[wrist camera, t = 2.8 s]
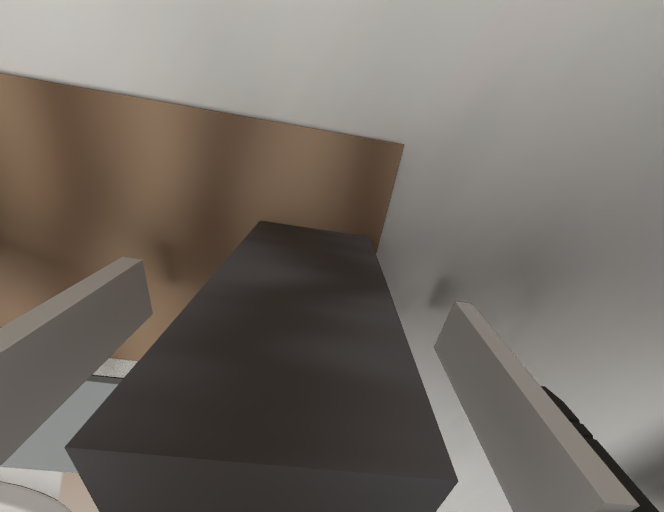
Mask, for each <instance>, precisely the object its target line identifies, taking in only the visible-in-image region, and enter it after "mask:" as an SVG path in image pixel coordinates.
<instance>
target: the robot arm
mask: <svg viewBox="0 0 664 512" xmlns="http://www.w3.org/2000/svg"><path fill="white" fill-rule="evenodd" d="M152 314H153V311H152V306H151V301H150V295H149V290H148V285H147V280H146V275H145V270H144V265H143V259H135V258H128V257H121V258H120V259H118V260H116V261H114V262H113V263H111V264H109V265H108V266H106V267H104V268H102V269H101V270H99V271H97V272H96V273H94V274H92V275H90V276H89V277H87V278H85V279H83V280H82V281H80V282H78V283H77V284H75V285H73V286H71V287H70V288H68V289H66V290H65V291H63V292H61V293H59V294H58V295H56V296H54V297H53V298H51V299H49V300H47V301H46V302H44V303H42V304H40V305H39V306H37V307H35V308H34V309H32V310H30V311H28V312H27V313H25V314H23V315H22V316H20V317H18V318H16V319H15V320H13V321H11V322H10V323H8V324H6V325H4V326H3V327H0V466H1V465H2V464H3V463H4V462H5V461H6V460H7V459H8V458H9V457H10V456H11V455H12V454H13V453H14V452H15V451H16V450H17V449H18V448H19V447H20V446H21V445H22V444H23V443H24V442H25V441H26V440H27V439H28V438H29V437H30V436H31V435H32V434H33V433H34V432H35V431H36V430H37V429H38V428H39V427H40V426H41V425H42V424H43V423H44V422H45V421H46V420H47V419H48V418H49V417H50V416H51V415H52V414H53V413H54V412H55V411H56V410H57V409H58V408H59V407H60V406H61V405H62V404H63V403H64V402H65V401H66V400H67V399H68V398H69V397H70V396H71V395H72V394H73V393H74V392H75V391H76V390H77V389H78V388H79V387H80V386H81V385H82V384H83V383H84V382H85V381H86V380H87V379H88V378H89V377H90V376H91V375H92V374H93V373H94V372H95V371H96V370H97V369H98V368H99V367H100V366H101V365H102V364H103V363H104V362H105V361H106V360H107V359H108V358H109V357H110V356H111V355H112V354H113V353H114V352H115V351H116V350H117V349H118V348H119V347H120V346H121V345H122V344H123V343H124V342H125V341H126V340H127V339H128V338H129V337H130V336H131V335H132V334H133V333H134V332H135V331H136V330H137V329H138V328H139V327H140V326H141V325H142V324H143V323H144V322H145V321H146V320H147V319H148V318H149V317H150V316H151V315H152ZM434 348H435V350H436V353H437V355H438V357H439V359H440V361H441V363H442V365H443V367H444V369H445V371H446V373H447V375H448V377H449V380H450V382H451V384H452V386H453V388H454V390H455V392H456V394H457V396H458V398H459V400H460V402H461V404H462V406H463V409H464V411H465V413H466V415H467V417H468V419H469V421H470V423H471V425H472V427H473V429H474V431H475V433H476V435H477V438H478V440H479V442H480V444H481V446H482V448H483V450H484V452H485V454H486V456H487V458H488V460H489V462H490V464H491V467H492V469H493V471H494V473H495V475H496V477H497V479H498V481H499V483H500V485H501V487H502V489H503V491H504V493H505V496H506V498H507V500H508V502H509V504H510V506H511V508H512V510H513V512H659V511H658V510H657V509H656V508H655V506H654V505H653V504H652V503H651V502H650V501H649V500H648V499H647V497H646V496H645V495H644V494H643V493H642V492H641V491H640V489H639V488H638V487H637V486H636V485H635V484H634V483H633V481H632V480H631V479H630V478H629V477H628V476H627V474H626V473H625V472H624V471H623V470H622V469H621V468H620V466H619V465H618V464H617V463H616V462H615V461H614V460H613V458H612V457H611V456H610V455H609V454H608V453H607V451H606V450H605V449H604V448H603V447H602V446H601V445H600V443H599V442H598V441H597V440H594V439H593V435H592V434H591V433H590V432H589V431H588V430H587V428H586V427H585V426H584V425H583V424H580V422H579V419H578V418H577V417H576V416H575V415H574V413H573V412H572V411H571V410H570V409H569V408H568V407H567V405H566V404H565V403H564V402H563V401H562V400H560V399H559V398H558V397H557V396H556V395H554V394H553V393H552V392H551V391H550V390H548V389H547V388H546V387H543V386H540V385H539V384H538V383H537V381H536V380H535V379H534V378H533V377H532V375H531V374H530V373H529V372H528V371H527V369H526V368H525V367H524V366H523V365H522V363H521V362H520V361H519V360H518V359H517V357H516V356H515V355H514V354H513V353H512V351H511V350H510V349H509V348H508V347H507V345H506V344H505V343H504V342H503V341H502V339H501V338H500V337H499V336H498V335H497V333H496V332H495V331H494V330H493V329H492V327H491V326H490V325H489V324H488V323H487V321H486V320H485V319H484V318H483V317H482V315H481V314H480V313H479V312H478V311H477V309H476V308H475V307H474V306H473V305H472V303H465V302H457V301H455V302H454V304H453V307H452V309H451V311H450V313H449V315H448V317H447V320H446V322H445V324H444V326H443V328H442V331H441V333H440V335H439V337H438V339H437V342H436V344H435V346H434Z"/></svg>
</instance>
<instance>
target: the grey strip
mask: <svg viewBox="0 0 664 512" xmlns="http://www.w3.org/2000/svg"><path fill="white" fill-rule="evenodd" d="M122 380H123V379H119V378H110V377H100V376H90V377H89V378H88V379H87V380H86V381H85V382H84V383H83V384H82V385H81V386H80V387H79V388H78V389H77V390H76V391H75V392H74V393H73V394H72V395H71V396H70V397H69V398H68V399H67V400H66V401H65V402H64V403H63V404H62V405H61V406H60V407H59V408H58V409H57V410H56V411H55V412H54V413H53V414H52V415H51V416H50V417H49V418H48V419H47V420H46V421H45V422H44V423H43V424H42V425H41V426H40V427H39V428H38V429H37V430H36V431H35V432H34V433H33V434H32V435H31V436H30V437H29V438H28V439H27V440H26V441H25V442H24V443H23V444H22V445H21V446H20V447H19V448H18V449H17V450H16V451H15V452H14V453H13V454H12V455H11V456H10V457H9V458H8V459H7V460H6V461H5V462H4V463H3V464H2V465H1V466H0V467H9V468H22V469H34V470H46V471H59V472H71V473H78V472H77V470H76V468H75V466H74V464H73V462H72V461H71V459H70V457H69V455H68V453H67V451H66V450H65V448H64V447H65V446H66V445H67V443H68V442H69V441H70V440H71V439H72V438H73V437H74V435H75V434H76V433H77V432H78V431H79V430H80V428H81V427H82V426H83V425H84V424H85V423H86V421H87V420H88V419H89V418H90V417H91V416H92V414H93V413H94V412H95V411H96V410H97V409H98V408H99V406H100V405H101V404H102V403H103V402H104V401H105V399H106V398H107V397H108V396H109V395H110V394H111V392H112V391H113V390H114V389H115V388H116V387H117V386H118V384H119V383H120V382H121V381H122Z"/></svg>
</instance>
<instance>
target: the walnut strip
mask: <svg viewBox="0 0 664 512" xmlns="http://www.w3.org/2000/svg"><path fill="white" fill-rule="evenodd" d="M403 148H404V144H398V143H393V142H387V141H381V140H376V139H370V138H364V137H359V136H353V135H347V134H341V133H336V132H330V131H324V130H319V129H313V128H307V127H302V126H296V125H290V124H285V123H279V122H273V121H268V120H262V119H256V118H251V117H245V116H239V115H234V114H228V113H222V112H217V111H211V110H205V109H200V108H194V107H188V106H183V105H177V104H171V103H166V102H160V101H154V100H149V99H143V98H137V97H132V96H126V95H120V94H115V93H109V92H103V91H98V90H92V89H86V88H81V87H75V86H69V85H64V84H58V83H52V82H47V81H41V80H35V79H30V78H24V77H18V76H13V75H7V74H1V73H0V327H3V326H4V325H6V324H8V323H10V322H11V321H13V320H15V319H16V318H18V317H20V316H22V315H23V314H25V313H27V312H28V311H30V310H32V309H34V308H35V307H37V306H39V305H40V304H42V303H44V302H46V301H47V300H49V299H51V298H53V297H54V296H56V295H58V294H59V293H61V292H63V291H65V290H66V289H68V288H70V287H71V286H73V285H75V284H77V283H78V282H80V281H82V280H83V279H85V278H87V277H89V276H90V275H92V274H94V273H96V272H97V271H99V270H101V269H102V268H104V267H106V266H108V265H109V264H111V263H113V262H114V261H116V260H118V259H120V258H121V257H128V258H135V259H143V265H144V270H145V275H146V280H147V285H148V290H149V295H150V301H151V306H152V311H153V314H152V315H151V316H150V317H149V318H148V319H147V320H146V321H145V322H144V323H143V324H142V325H141V326H140V327H139V328H138V329H137V330H136V331H135V332H134V333H133V334H132V335H131V336H130V337H129V338H128V339H127V340H126V341H125V342H124V343H123V344H122V345H121V346H120V347H119V348H118V349H117V350H116V351H115V352H114V353H113V354H112V355H111V356H110V357H109V358H114V359H123V360H132V361H138V362H137V364H136V365H135V366H134V367H133V368H132V369H131V370H130V372H129V373H128V374H127V375H126V376H125V377H124V379H123V380H122V381H121V382H120V383H119V384H118V386H117V387H116V388H115V389H114V390H113V391H112V392H111V394H110V395H109V396H108V397H107V398H106V399H105V401H104V402H103V403H102V404H101V405H100V406H99V408H98V409H97V410H96V411H95V412H94V413H93V414H92V416H91V417H90V418H89V419H88V420H87V421H86V423H85V424H84V425H83V426H82V427H81V428H80V430H79V431H78V432H77V433H76V434H75V435H74V437H73V438H72V439H71V440H70V441H69V442H68V443H67V445H66V446H65V447H64V448H65V450H66V451H67V453H68V455H69V457H70V459H71V461H72V462H73V464H74V466H75V468H76V470H77V472H78V473H79V475H80V477H81V479H82V480H83V482H84V484H85V486H86V488H87V490H88V492H89V493H90V495H91V497H92V499H93V501H94V503H95V504H96V506H97V508H98V510H99V512H436V511H437V509H438V508H439V507H440V505H441V504H442V503H443V501H444V500H445V499H446V497H447V496H448V495H449V493H450V492H451V491H452V489H453V488H454V486H455V485H456V484H457V482H458V479H457V476H456V474H455V471H454V468H453V465H452V463H451V460H450V457H449V454H448V452H447V449H446V446H445V443H444V441H443V438H442V435H441V432H440V430H439V427H438V424H437V421H436V419H435V416H434V413H433V410H432V408H431V405H430V402H429V399H428V397H427V394H426V391H425V388H424V386H423V383H422V380H421V377H420V375H419V372H418V369H417V366H416V364H415V361H414V358H413V355H412V353H411V350H410V347H409V344H408V342H407V339H406V336H405V333H404V331H403V328H402V325H401V322H400V320H399V317H398V314H397V311H396V309H395V306H394V303H393V300H392V298H391V295H390V292H389V289H388V287H387V284H386V281H385V278H384V276H383V273H382V270H381V267H380V265H379V262H378V259H377V256H376V252H377V248H378V244H379V240H380V237H381V233H382V229H383V225H384V221H385V217H386V213H387V210H388V206H389V202H390V198H391V194H392V190H393V186H394V183H395V179H396V175H397V171H398V167H399V163H400V160H401V156H402V152H403Z"/></svg>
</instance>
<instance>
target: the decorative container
mask: <svg viewBox="0 0 664 512" xmlns="http://www.w3.org/2000/svg"><path fill="white" fill-rule="evenodd" d="M0 512H71V511H70V510H69V509H68V508H67V507H66V506H65V505H63V504H61V503H60V502H58V501H57V500H55V499H53V498H51V497H49V496H47V495H45V494H42V493H40V492H37V491H34V490H31V489H28V488H25V487H22V486H17V485H13V484H8V483H4V482H0Z"/></svg>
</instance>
